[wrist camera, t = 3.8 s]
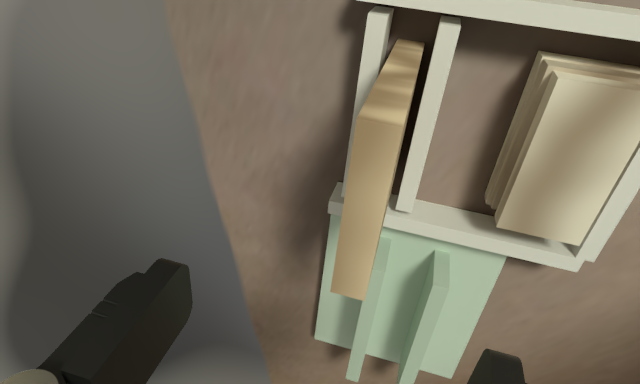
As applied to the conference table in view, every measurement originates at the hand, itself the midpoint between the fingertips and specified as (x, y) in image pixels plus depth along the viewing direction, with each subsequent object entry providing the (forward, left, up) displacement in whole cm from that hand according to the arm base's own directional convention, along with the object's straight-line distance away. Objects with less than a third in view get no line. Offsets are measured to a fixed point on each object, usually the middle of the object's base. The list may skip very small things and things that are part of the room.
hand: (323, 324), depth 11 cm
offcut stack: (-9, 0, -17) cm, 19 cm away
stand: (-3, +15, -17) cm, 23 cm away
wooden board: (0, 0, -17) cm, 17 cm away
